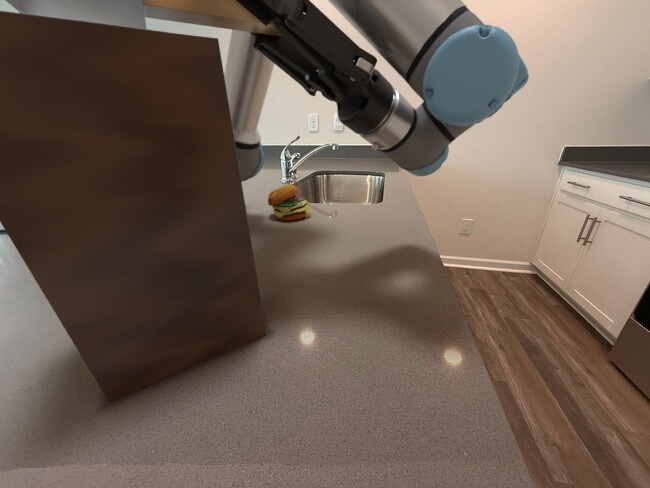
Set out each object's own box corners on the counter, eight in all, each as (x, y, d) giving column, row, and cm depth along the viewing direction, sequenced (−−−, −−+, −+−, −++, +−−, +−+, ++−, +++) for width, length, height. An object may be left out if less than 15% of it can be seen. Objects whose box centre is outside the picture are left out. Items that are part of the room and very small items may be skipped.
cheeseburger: (306, 223, 67) (294, 186, 63) (270, 230, 70) (257, 195, 67) (315, 210, 76) (305, 177, 72) (282, 217, 79) (271, 185, 75)
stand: (108, 402, 25) (-140, -8, 12) (119, 327, 34) (-15, 50, 21) (266, 334, 32) (218, 37, 20) (240, 288, 42) (195, 66, 29)
